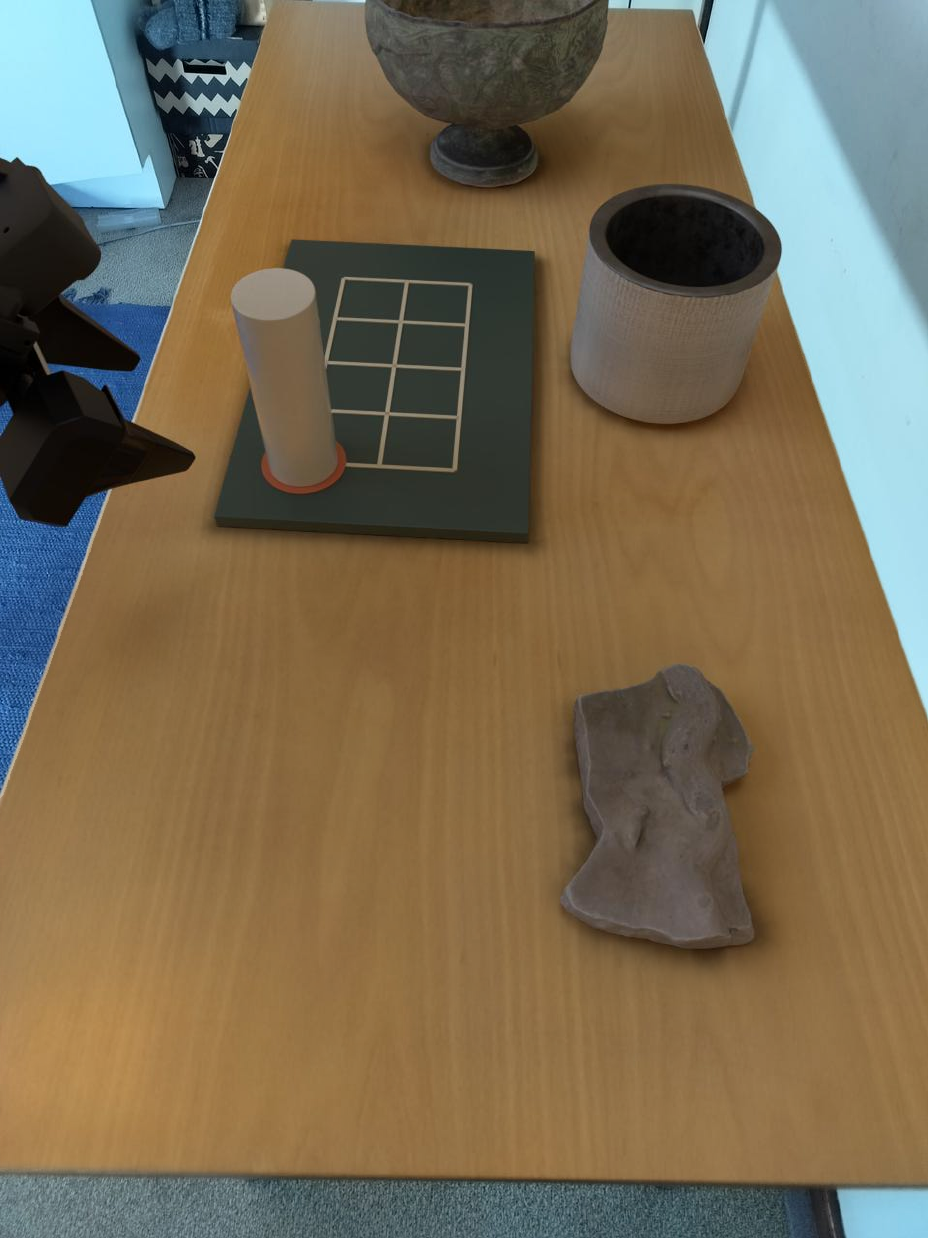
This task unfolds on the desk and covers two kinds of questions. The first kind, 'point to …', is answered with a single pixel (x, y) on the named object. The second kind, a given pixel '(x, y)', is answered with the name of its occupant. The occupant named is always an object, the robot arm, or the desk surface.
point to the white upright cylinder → (287, 373)
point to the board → (409, 397)
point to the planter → (671, 301)
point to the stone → (661, 812)
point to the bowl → (486, 73)
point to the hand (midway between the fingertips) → (162, 410)
